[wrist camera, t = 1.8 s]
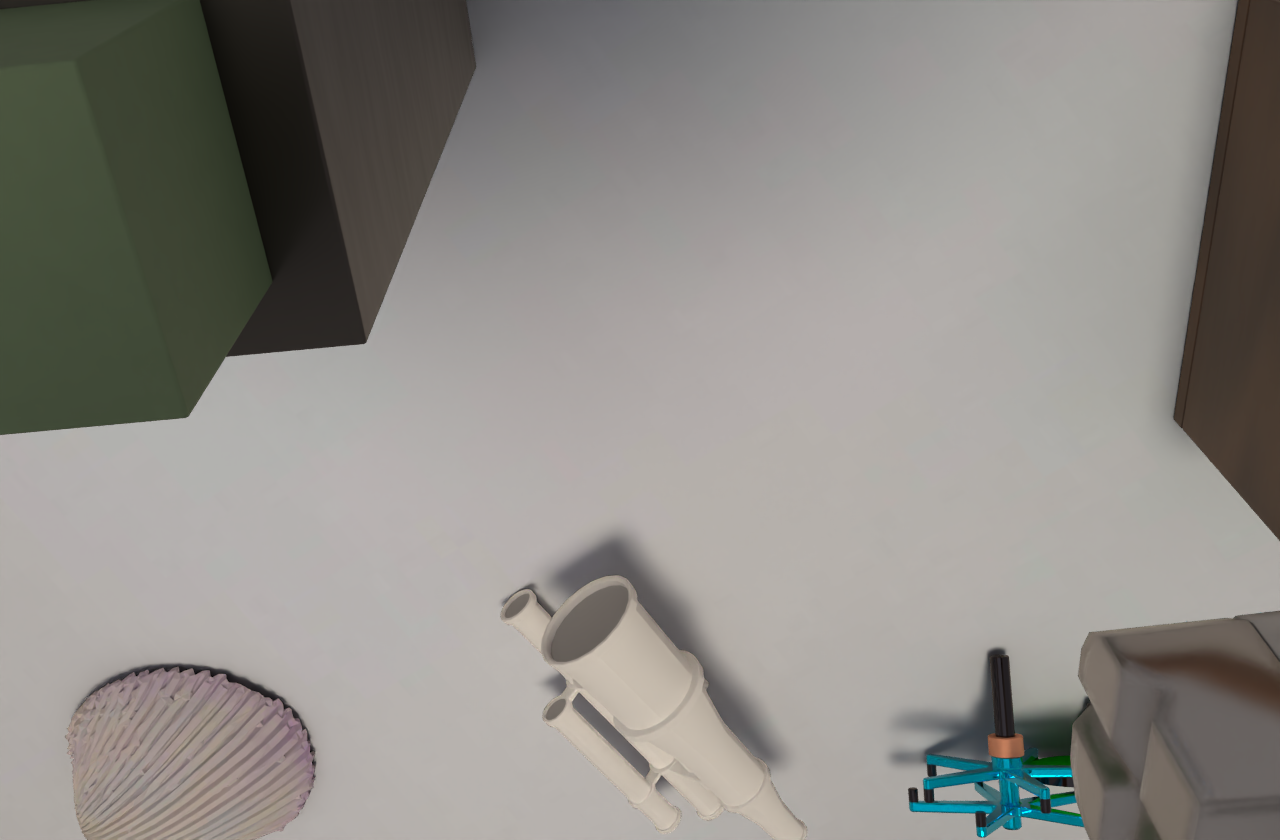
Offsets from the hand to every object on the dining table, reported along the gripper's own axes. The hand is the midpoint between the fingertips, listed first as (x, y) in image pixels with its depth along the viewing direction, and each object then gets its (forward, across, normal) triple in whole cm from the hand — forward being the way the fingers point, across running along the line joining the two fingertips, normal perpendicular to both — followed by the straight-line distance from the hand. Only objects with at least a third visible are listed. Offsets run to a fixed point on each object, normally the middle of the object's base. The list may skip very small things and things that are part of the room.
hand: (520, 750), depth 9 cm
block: (+12, +7, -2) cm, 14 cm away
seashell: (+31, +20, +29) cm, 48 cm away
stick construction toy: (+32, -16, +32) cm, 47 cm away
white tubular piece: (+32, 0, +28) cm, 42 cm away
